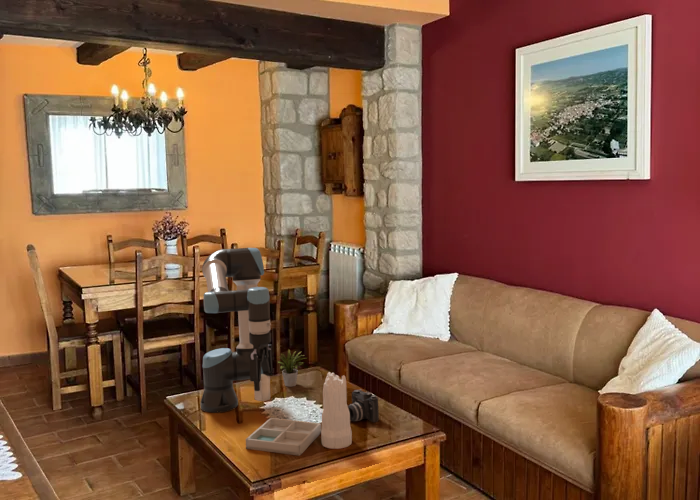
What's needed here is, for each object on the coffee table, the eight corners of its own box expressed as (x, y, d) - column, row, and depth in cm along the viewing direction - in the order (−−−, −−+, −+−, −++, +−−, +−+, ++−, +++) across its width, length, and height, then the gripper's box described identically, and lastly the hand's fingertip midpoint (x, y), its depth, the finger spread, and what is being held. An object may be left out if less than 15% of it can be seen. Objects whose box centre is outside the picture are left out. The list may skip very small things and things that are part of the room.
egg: (252, 400, 234) (250, 376, 233) (259, 395, 239) (258, 371, 238) (266, 401, 232) (265, 377, 231) (273, 396, 237) (272, 372, 236)
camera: (337, 416, 262) (336, 392, 260) (359, 409, 268) (359, 386, 267) (359, 427, 250) (359, 402, 249) (382, 420, 257) (381, 395, 256)
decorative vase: (355, 446, 234) (353, 377, 231) (325, 450, 231) (323, 380, 228) (346, 434, 244) (345, 368, 241) (318, 438, 241) (316, 371, 238)
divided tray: (246, 448, 234) (245, 439, 233) (270, 426, 253) (270, 417, 252) (299, 455, 227) (299, 445, 227) (321, 432, 246) (321, 423, 246)
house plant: (292, 393, 289) (290, 356, 287) (267, 387, 297) (266, 352, 294) (311, 383, 301) (310, 348, 299) (287, 378, 308) (286, 344, 306)
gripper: (257, 338, 223) (260, 406, 226) (280, 326, 240) (283, 388, 243) (237, 337, 225) (240, 404, 228) (262, 325, 243) (264, 387, 245)
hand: (262, 396), depth 235 cm, fingers closed on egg, 5 cm apart
